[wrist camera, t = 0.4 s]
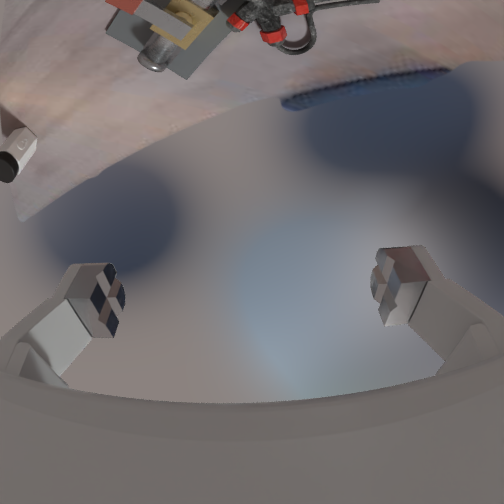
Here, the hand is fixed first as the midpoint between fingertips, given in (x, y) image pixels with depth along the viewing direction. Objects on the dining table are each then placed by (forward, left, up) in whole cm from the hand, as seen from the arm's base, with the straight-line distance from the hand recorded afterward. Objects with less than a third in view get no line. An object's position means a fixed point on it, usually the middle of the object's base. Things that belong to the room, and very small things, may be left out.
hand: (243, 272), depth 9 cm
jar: (+54, -29, -49) cm, 79 cm away
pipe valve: (+7, -8, -49) cm, 50 cm away
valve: (-6, +6, -49) cm, 50 cm away
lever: (+7, -13, -41) cm, 43 cm away
